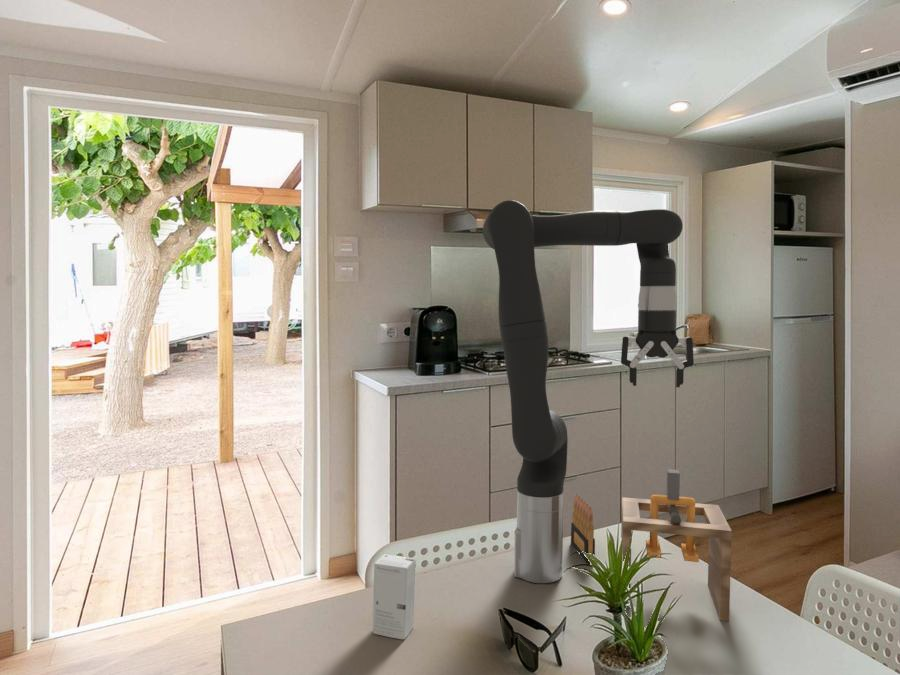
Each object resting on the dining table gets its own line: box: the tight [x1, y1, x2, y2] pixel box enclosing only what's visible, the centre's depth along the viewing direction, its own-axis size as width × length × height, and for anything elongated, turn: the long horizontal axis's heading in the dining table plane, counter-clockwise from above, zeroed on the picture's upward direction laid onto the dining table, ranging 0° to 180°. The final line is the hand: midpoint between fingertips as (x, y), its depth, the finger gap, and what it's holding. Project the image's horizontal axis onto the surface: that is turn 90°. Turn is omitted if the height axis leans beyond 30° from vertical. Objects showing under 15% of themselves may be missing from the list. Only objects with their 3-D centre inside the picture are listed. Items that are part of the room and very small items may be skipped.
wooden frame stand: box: [620, 494, 733, 622], centre depth 115 cm, size 18×14×18 cm
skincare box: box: [372, 553, 417, 640], centre depth 103 cm, size 6×4×12 cm
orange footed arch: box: [645, 468, 700, 563], centre depth 115 cm, size 9×6×16 cm
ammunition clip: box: [570, 493, 596, 564], centre depth 135 cm, size 11×2×12 cm, turn 7°
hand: (656, 386), depth 128 cm, fingers open, 8 cm apart
